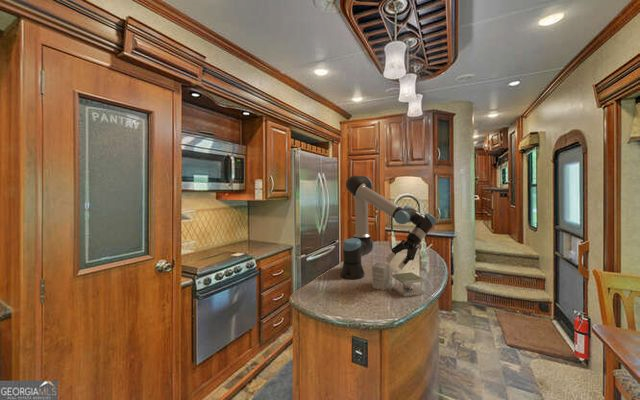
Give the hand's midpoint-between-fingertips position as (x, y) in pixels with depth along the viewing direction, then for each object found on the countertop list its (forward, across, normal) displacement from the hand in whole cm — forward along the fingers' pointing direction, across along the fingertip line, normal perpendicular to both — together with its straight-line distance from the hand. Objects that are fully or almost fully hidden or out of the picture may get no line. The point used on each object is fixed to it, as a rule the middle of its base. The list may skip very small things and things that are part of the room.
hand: (393, 264), depth 154 cm
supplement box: (+14, +1, -4) cm, 15 cm away
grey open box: (+6, -9, -11) cm, 16 cm away
